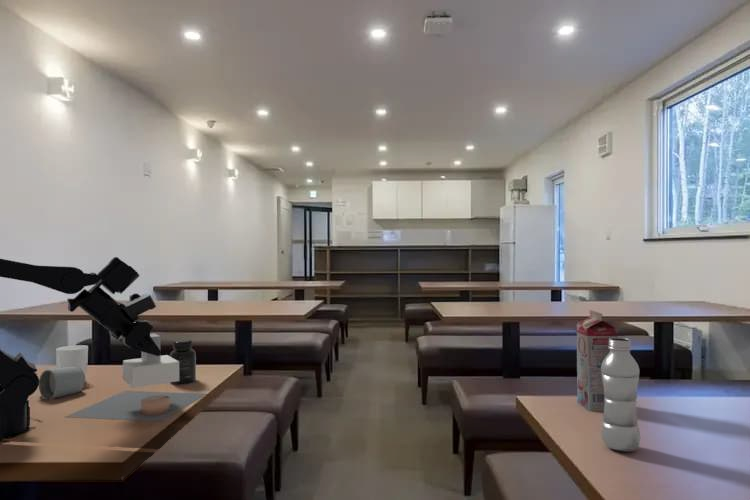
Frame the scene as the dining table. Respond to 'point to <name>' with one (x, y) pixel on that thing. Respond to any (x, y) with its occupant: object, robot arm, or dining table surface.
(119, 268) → the robot arm
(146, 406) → the tan short cylinder
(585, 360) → the juice carton
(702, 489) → the dining table surface
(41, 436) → the dining table surface
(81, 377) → the ceramic mug
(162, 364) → the cover
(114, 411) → the mat
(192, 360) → the supplement bottle
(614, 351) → the plastic bottle
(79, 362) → the white cup
